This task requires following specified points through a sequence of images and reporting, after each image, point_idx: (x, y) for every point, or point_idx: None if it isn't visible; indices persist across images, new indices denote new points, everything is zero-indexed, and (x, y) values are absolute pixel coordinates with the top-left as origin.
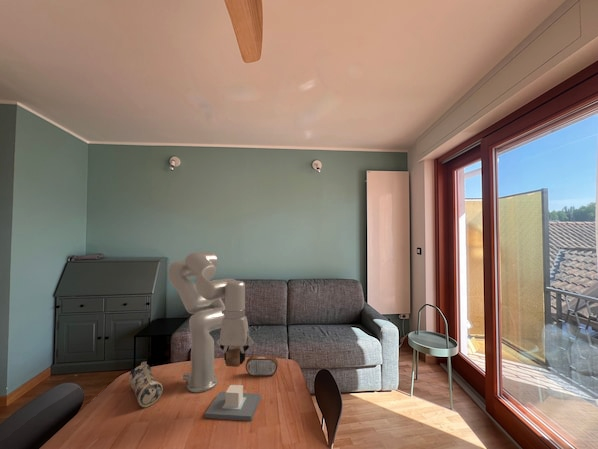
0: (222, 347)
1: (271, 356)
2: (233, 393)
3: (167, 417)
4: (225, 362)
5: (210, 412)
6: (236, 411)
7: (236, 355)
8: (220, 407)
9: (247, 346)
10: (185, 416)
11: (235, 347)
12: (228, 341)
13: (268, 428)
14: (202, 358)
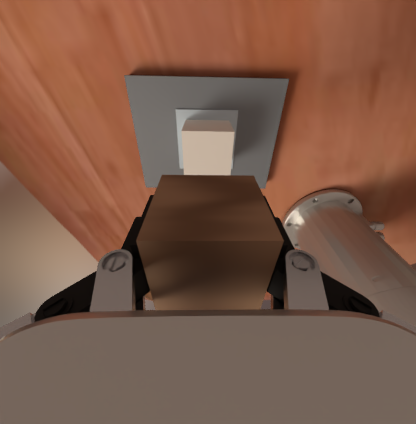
0: (340, 296)
1: (152, 299)
2: (202, 130)
3: (409, 69)
4: (265, 199)
5: (271, 85)
6: (185, 98)
7: (168, 221)
8: (244, 115)
9: (44, 318)
10: (349, 80)
11: (218, 308)
12: (308, 410)
13: (53, 37)
14: (372, 266)
